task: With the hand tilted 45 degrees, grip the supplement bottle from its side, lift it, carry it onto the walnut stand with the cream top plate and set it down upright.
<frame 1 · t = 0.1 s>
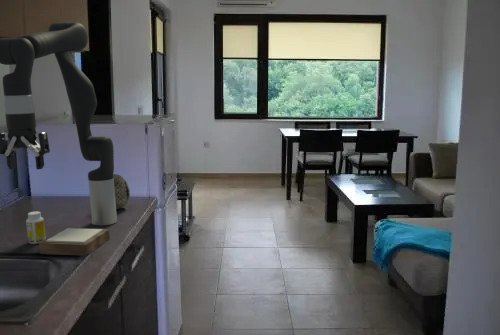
hand: (26, 168, 139), 29 cm above the worktop, tool pointing down, fingers open, 8 cm apart
supplement bottle: (37, 242, 166), on the worktop
walnut stand: (76, 246, 161), on the worktop
decorative egg: (116, 209, 208), on the worktop
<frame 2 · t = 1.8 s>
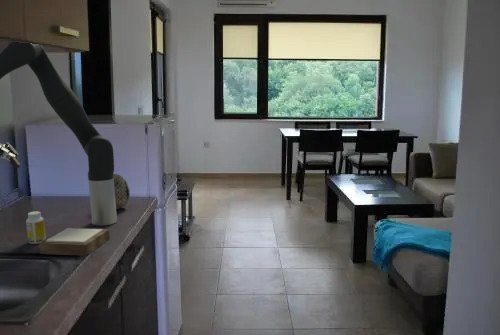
hand: (7, 169, 166), 25 cm above the worktop, tool tilted 45°, fingers open, 8 cm apart
nothing on the worktop moved.
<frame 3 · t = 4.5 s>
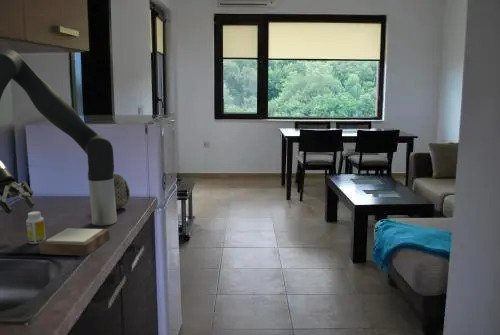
hand: (21, 209, 168), 11 cm above the worktop, tool tilted 45°, fingers open, 8 cm apart
nothing on the worktop moved.
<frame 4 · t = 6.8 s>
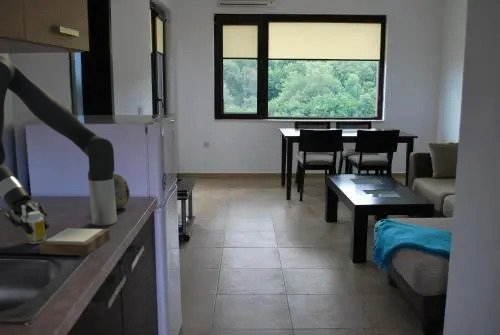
hand: (39, 230, 165), 4 cm above the worktop, tool tilted 45°, fingers closed on supplement bottle, 5 cm apart
supplement bottle: (37, 242, 166), on the worktop, touching gripper
everything else where it was.
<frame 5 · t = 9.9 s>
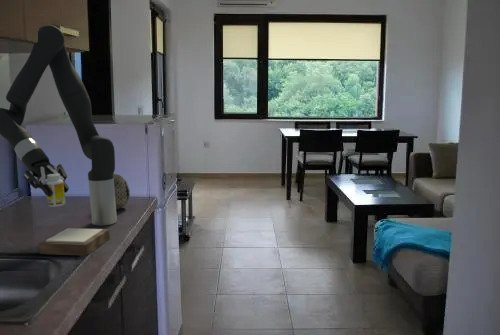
hand: (59, 192, 159), 18 cm above the worktop, tool tilted 45°, fingers closed on supplement bottle, 5 cm apart
supplement bottle: (56, 205, 161), point 13 cm above the worktop, touching gripper
everything else where it was.
when the fingers open (10 cm above the worktop, at t = 13.0 s): supplement bottle drops 1 cm, resting on walnut stand.
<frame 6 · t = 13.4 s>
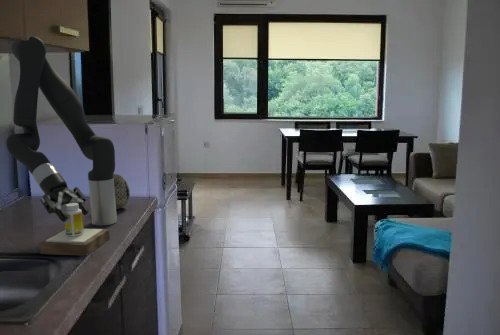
hand: (76, 217, 159), 10 cm above the worktop, tool tilted 45°, fingers open, 8 cm apart
supplement bottle: (74, 235, 160), point 4 cm above the worktop, touching walnut stand
everything else where it was.
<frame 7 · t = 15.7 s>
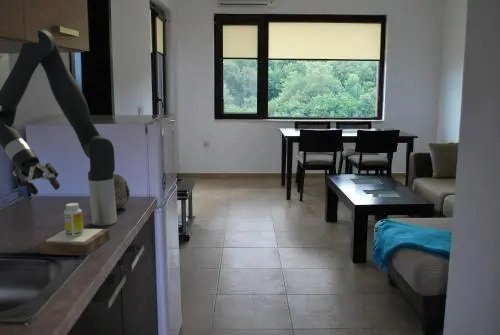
hand: (47, 190, 163), 18 cm above the worktop, tool tilted 45°, fingers open, 8 cm apart
nothing on the worktop moved.
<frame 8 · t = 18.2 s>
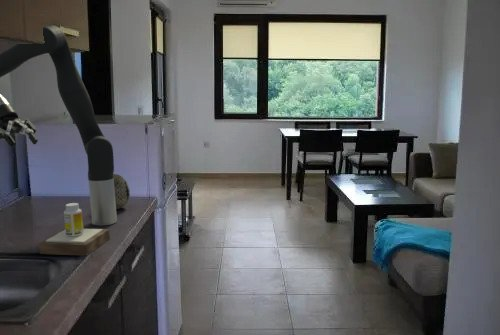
hand: (25, 144, 169), 33 cm above the worktop, tool tilted 45°, fingers open, 8 cm apart
nothing on the worktop moved.
at the end: supplement bottle inside the target area on the walnut stand (0.2 cm from its centre), point 3.8 cm above the walnut stand's base; supplement bottle tilted 0°; the gripper is holding nothing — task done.
